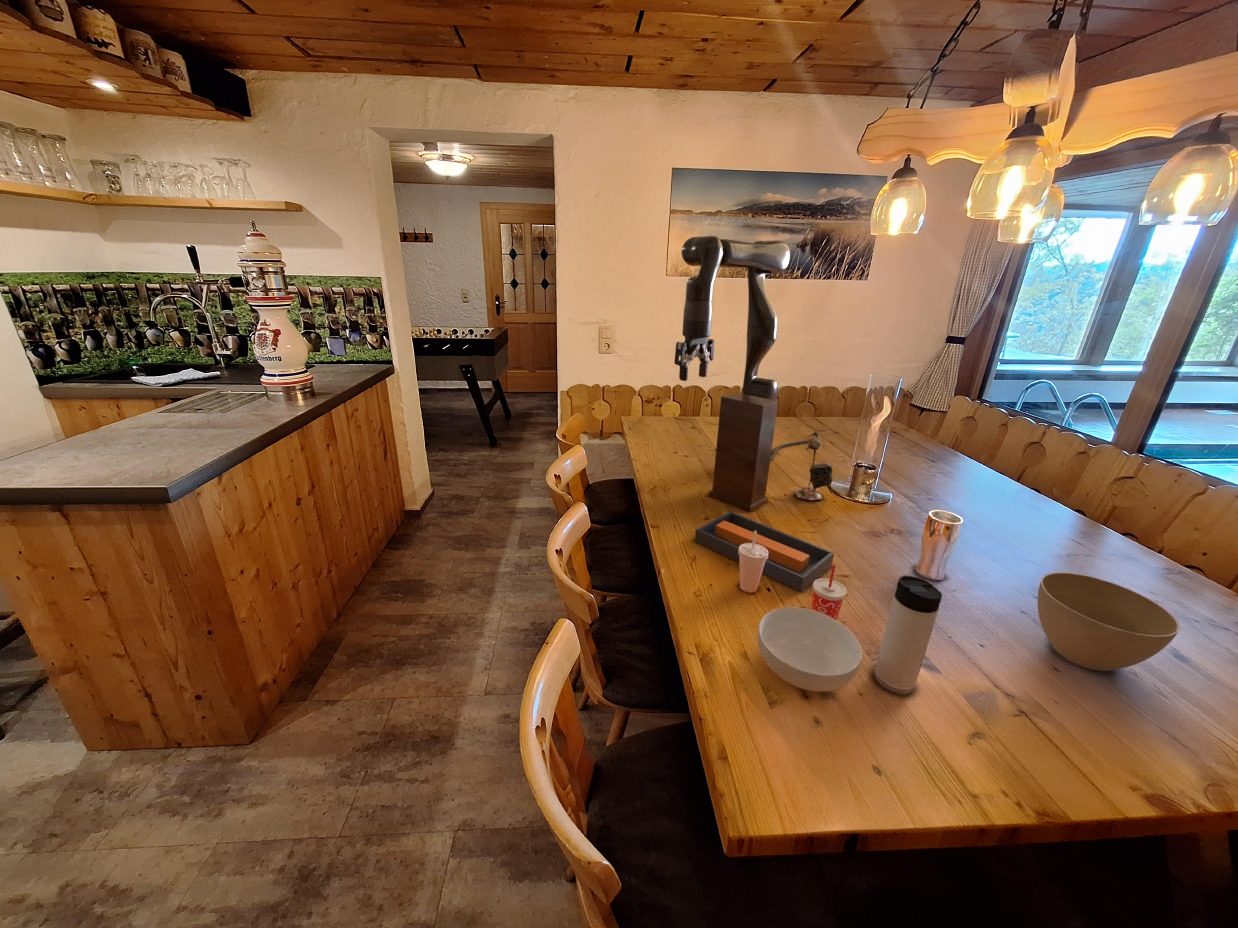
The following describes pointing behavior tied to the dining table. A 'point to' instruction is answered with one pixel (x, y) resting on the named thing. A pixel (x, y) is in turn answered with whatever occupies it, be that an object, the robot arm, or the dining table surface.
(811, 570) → the tray
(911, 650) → the travel mug
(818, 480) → the plant with pod
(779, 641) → the cereal bowl
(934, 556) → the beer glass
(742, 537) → the orange bar
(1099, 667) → the brown slanted bowl
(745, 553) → the smoothie
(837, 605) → the beverage cup
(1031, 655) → the dining table surface
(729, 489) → the stand
